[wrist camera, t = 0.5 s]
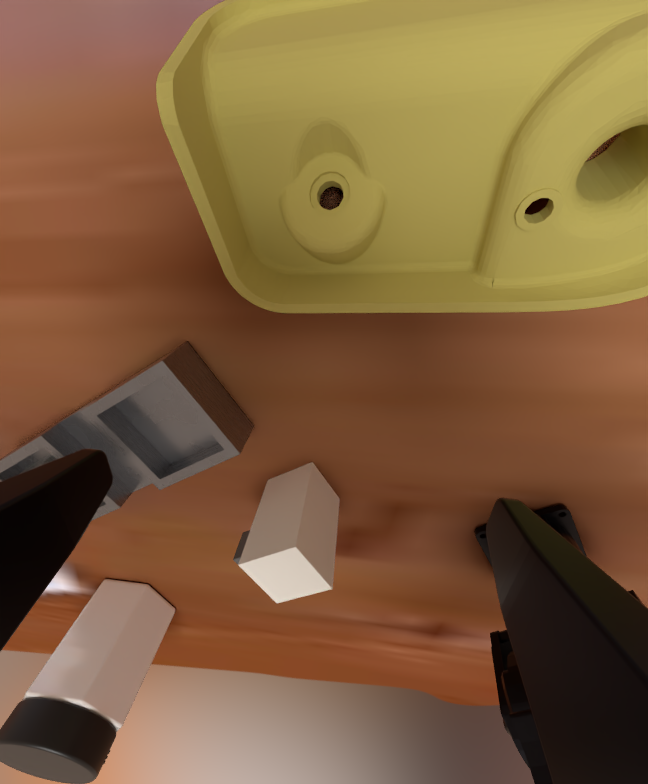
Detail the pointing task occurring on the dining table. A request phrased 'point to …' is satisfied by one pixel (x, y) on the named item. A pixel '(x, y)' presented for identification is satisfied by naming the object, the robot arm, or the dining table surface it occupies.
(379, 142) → the plastic component
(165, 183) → the dining table surface
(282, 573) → the beige rectangular block
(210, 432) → the grey holder stand
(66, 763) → the jar
